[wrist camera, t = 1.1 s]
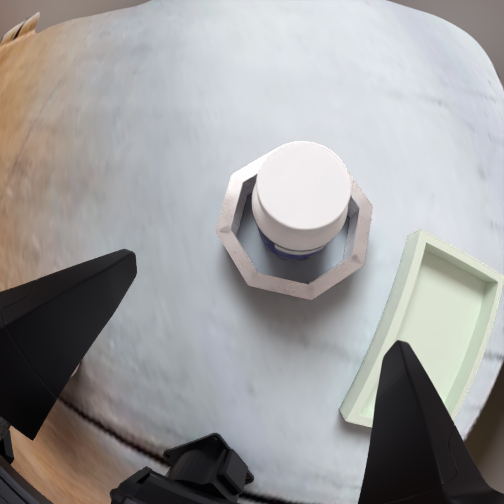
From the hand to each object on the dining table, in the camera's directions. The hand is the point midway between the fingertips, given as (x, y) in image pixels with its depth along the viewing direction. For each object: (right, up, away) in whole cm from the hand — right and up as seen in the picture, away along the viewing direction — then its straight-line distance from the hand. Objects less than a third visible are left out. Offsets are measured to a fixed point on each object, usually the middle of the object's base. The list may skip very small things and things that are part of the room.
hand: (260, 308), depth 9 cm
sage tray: (+15, -6, +12) cm, 20 cm away
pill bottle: (+3, +4, +15) cm, 15 cm away
